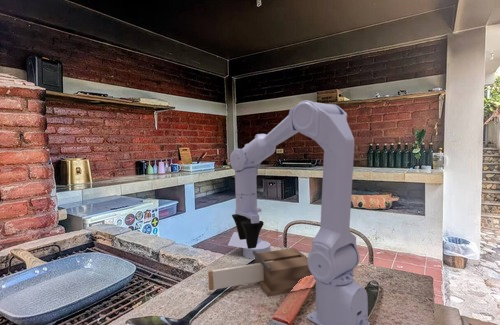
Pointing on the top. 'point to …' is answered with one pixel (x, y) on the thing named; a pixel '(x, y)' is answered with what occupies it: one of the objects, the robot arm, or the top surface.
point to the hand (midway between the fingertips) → (247, 243)
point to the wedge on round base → (236, 242)
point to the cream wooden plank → (236, 276)
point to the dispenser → (282, 270)
